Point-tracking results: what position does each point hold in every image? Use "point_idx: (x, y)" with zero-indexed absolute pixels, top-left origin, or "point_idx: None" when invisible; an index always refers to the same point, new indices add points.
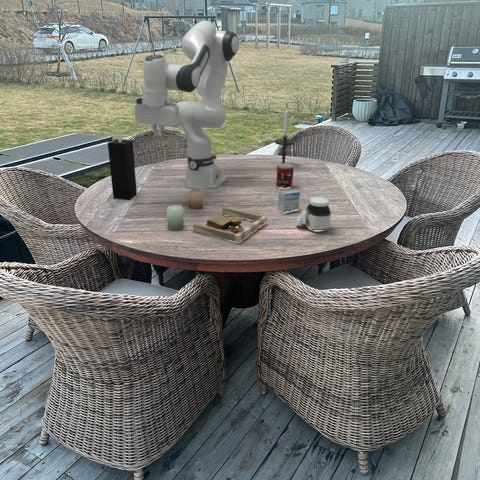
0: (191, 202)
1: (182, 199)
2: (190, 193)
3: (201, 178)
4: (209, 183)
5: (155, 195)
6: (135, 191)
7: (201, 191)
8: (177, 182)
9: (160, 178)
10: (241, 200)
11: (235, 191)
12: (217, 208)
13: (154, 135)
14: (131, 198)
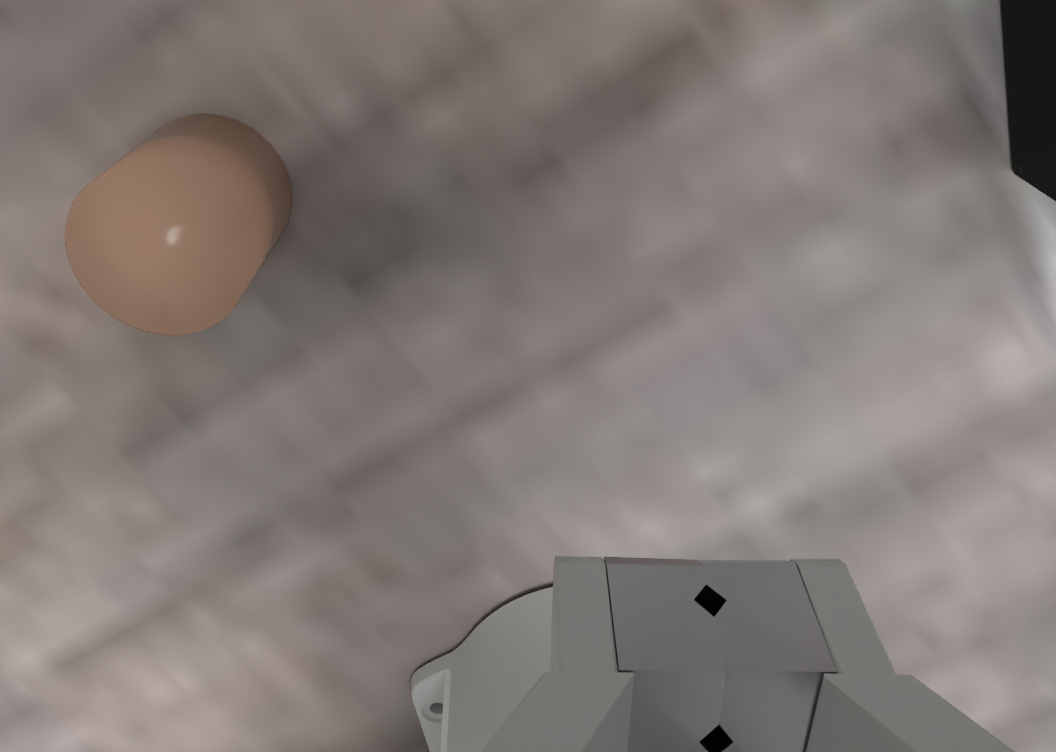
0: (181, 135)
1: (487, 309)
2: (156, 168)
3: (515, 690)
4: (456, 683)
5: (809, 264)
6: (1033, 155)
7: (110, 298)
8: None
9: (1022, 653)
10: (27, 547)
11: (228, 686)
12: (30, 278)
13: (834, 564)
14: (1004, 22)
